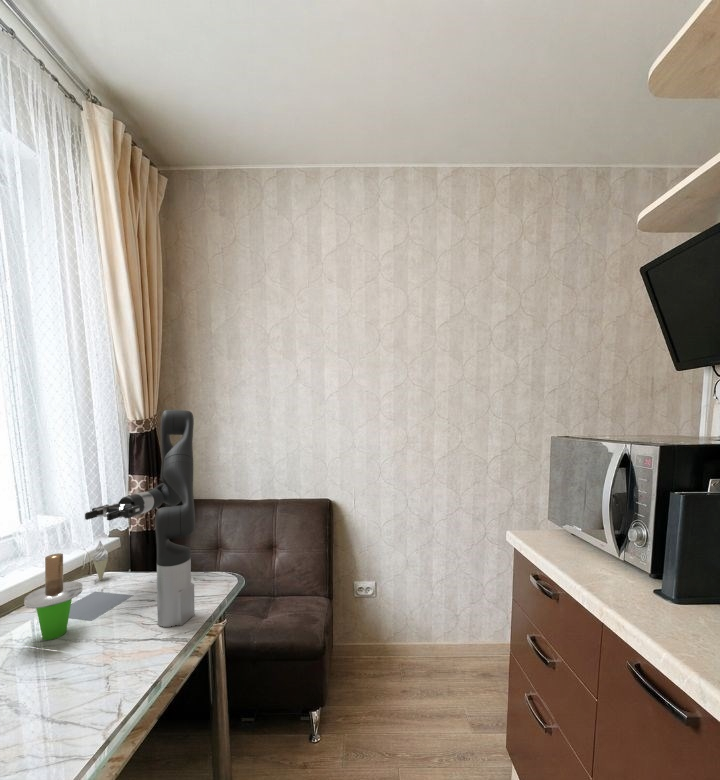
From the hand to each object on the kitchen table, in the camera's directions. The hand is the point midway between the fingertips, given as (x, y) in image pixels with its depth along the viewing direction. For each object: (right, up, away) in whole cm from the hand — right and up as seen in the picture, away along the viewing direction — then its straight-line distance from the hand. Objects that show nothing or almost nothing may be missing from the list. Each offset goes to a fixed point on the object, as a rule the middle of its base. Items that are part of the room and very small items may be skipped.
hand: (96, 516), depth 126 cm
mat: (-2, -29, +2) cm, 30 cm away
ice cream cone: (-12, -31, +21) cm, 39 cm away
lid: (-3, -18, -14) cm, 23 cm away
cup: (-2, -29, -14) cm, 33 cm away
